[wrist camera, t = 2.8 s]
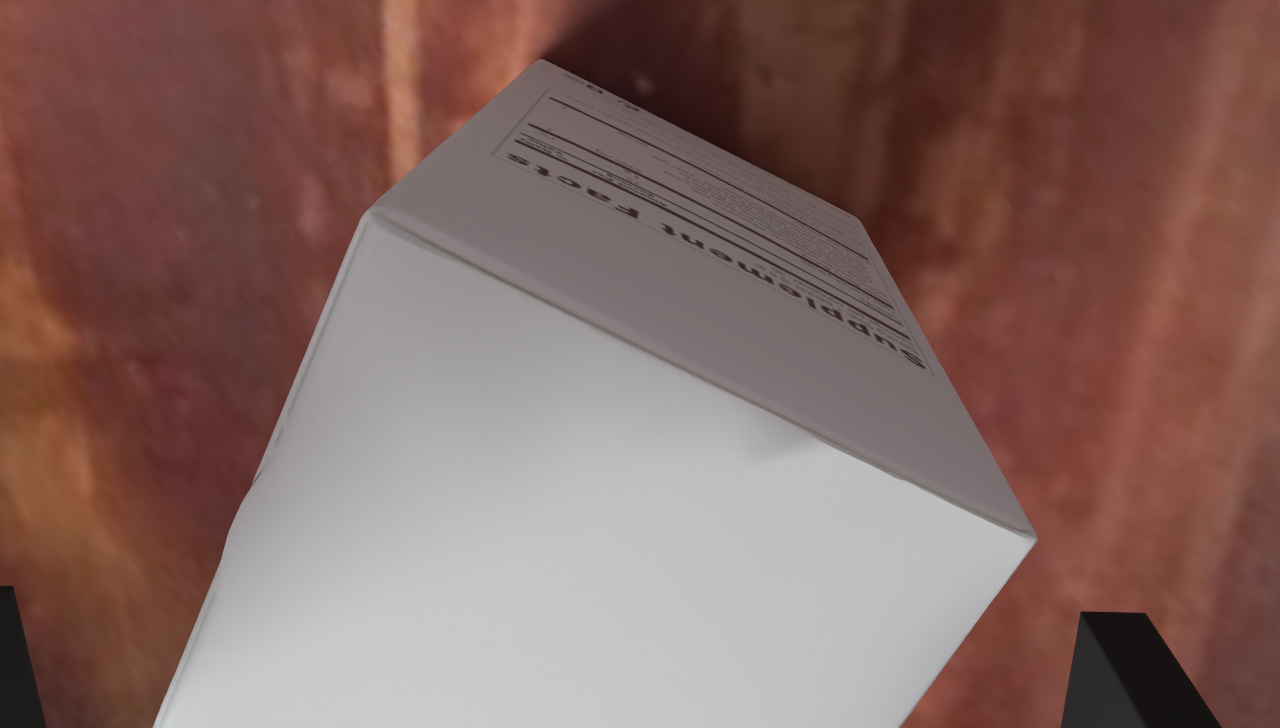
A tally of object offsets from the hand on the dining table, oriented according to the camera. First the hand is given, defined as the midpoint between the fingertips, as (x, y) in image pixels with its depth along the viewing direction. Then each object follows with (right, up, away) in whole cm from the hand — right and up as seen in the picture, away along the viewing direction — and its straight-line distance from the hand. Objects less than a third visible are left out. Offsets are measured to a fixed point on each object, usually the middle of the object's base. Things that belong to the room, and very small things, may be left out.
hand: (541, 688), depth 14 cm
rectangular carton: (+1, +6, +14) cm, 15 cm away
